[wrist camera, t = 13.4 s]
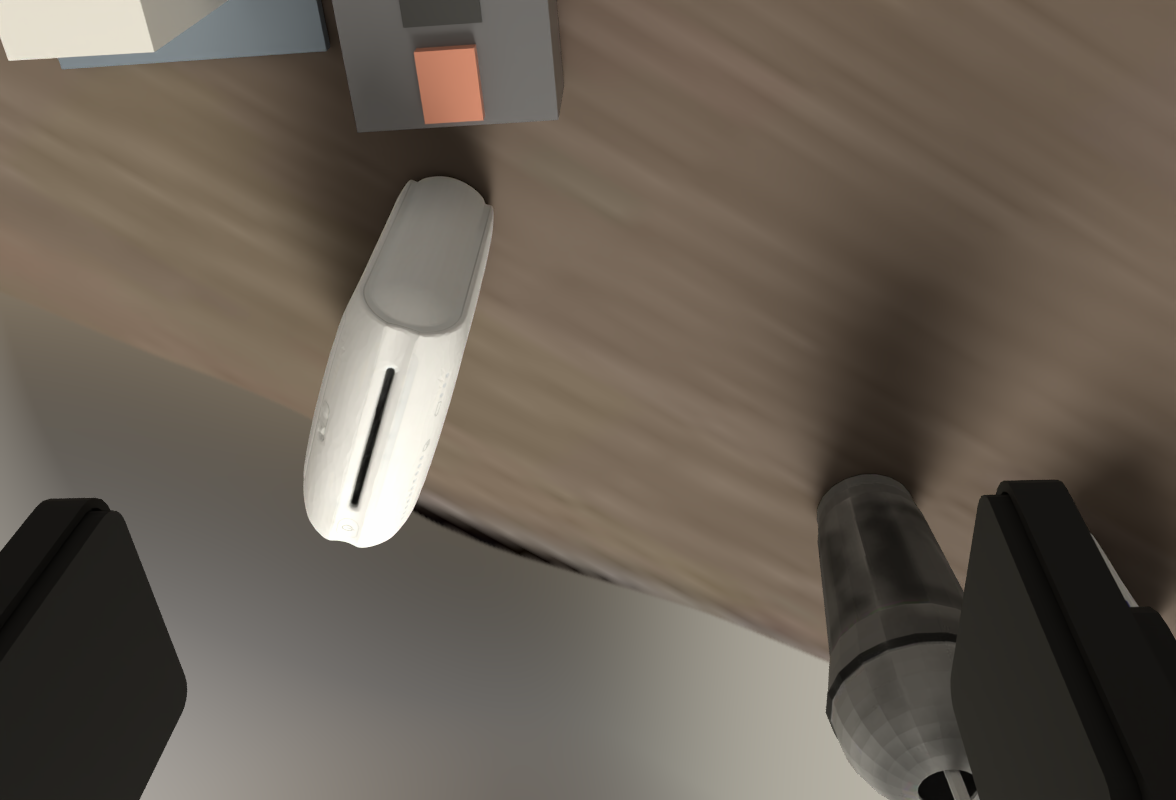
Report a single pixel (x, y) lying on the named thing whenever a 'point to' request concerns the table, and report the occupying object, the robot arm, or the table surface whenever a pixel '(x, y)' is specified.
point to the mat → (234, 35)
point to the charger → (94, 26)
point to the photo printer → (396, 363)
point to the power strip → (502, 56)
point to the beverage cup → (891, 642)
